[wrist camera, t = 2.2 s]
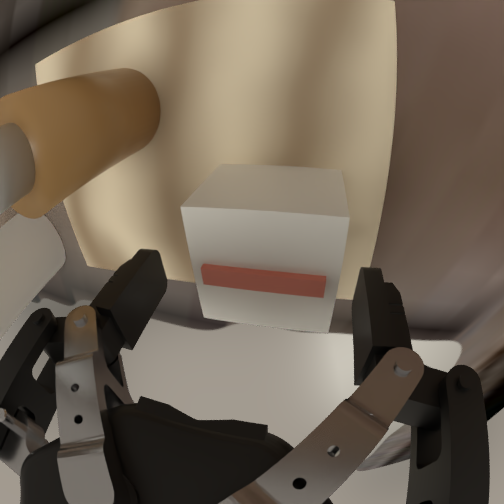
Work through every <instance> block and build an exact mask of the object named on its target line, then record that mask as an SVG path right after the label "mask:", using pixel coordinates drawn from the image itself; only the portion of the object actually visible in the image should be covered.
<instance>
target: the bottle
mask: <svg viewBox="0 0 504 504" xmlns="http://www.w3.org/2000/svg"><path fill="white" fill-rule="evenodd" d="M160 114H161V109H160V101H159V97H158V93H157V91H156V89H155V87H154V85H153V84H152V82H151V81H150V80H149V79H148V78H147V77H146V76H145V75H144V74H142V73H141V72H139V71H137V70H134V69H130V68H120V69H112V70H105V71H99V72H93V73H88V74H82V75H77V76H73V77H68V78H64V79H59V80H55V81H51V82H47V83H44V84H40V85H37V86H33V87H30V88H27V89H23V90H20V91H17V92H14V93H11V94H9V95H6V96H4V97H2V98H1V99H0V214H2V213H3V212H4V211H5V210H7V209H8V208H9V207H12V208H13V209H14V210H15V211H16V212H18V213H19V214H21V215H22V216H24V217H27V218H31V219H36V218H39V217H41V216H43V215H44V214H45V213H47V212H48V211H49V210H51V209H52V208H53V207H55V206H56V205H57V204H58V203H60V202H61V201H63V200H64V199H65V198H67V197H68V196H69V195H71V194H72V193H74V192H75V191H76V190H78V189H79V188H81V187H82V186H84V185H85V184H86V183H88V182H89V181H91V180H92V179H94V178H95V177H97V176H98V175H100V174H102V173H103V172H105V171H106V170H108V169H109V168H111V167H113V166H114V165H116V164H117V163H119V162H121V161H122V160H124V159H126V158H127V157H129V156H131V155H132V154H134V153H136V152H138V151H139V150H141V149H143V148H144V147H145V146H146V145H147V144H149V143H150V141H151V140H152V139H153V137H154V135H155V134H156V131H157V129H158V126H159V122H160Z"/></svg>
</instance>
